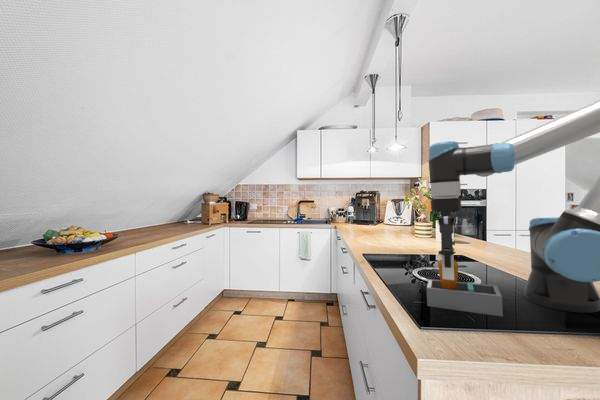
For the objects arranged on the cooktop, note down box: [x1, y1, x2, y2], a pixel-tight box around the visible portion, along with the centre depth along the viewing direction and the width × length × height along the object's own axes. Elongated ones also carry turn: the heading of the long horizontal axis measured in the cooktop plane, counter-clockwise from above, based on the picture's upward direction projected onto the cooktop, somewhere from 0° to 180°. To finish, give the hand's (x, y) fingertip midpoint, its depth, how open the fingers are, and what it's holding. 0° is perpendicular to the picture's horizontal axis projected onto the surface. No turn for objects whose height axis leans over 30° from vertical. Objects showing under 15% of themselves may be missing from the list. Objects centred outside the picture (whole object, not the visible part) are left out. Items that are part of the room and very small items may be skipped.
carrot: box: [438, 247, 459, 290], centre depth 77 cm, size 5×5×15 cm
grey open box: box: [426, 278, 504, 317], centre depth 75 cm, size 17×9×5 cm, turn 61°
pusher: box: [466, 281, 474, 292], centre depth 74 cm, size 1×6×4 cm, turn 151°
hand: (448, 272), depth 76 cm, fingers open, 13 cm apart
